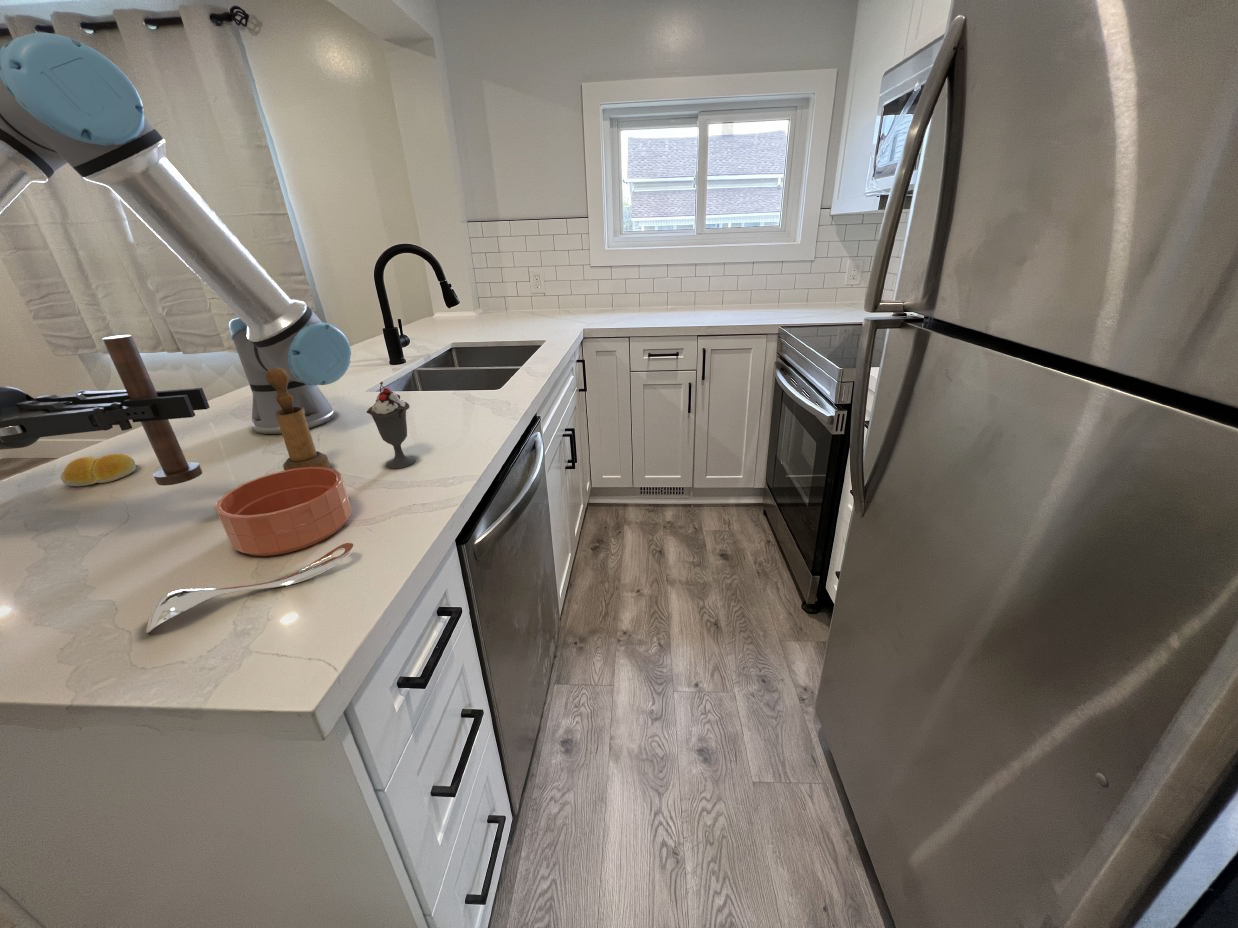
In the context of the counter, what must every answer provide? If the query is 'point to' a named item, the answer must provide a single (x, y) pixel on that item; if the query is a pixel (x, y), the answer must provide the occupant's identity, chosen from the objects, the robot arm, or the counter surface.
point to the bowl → (284, 510)
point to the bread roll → (97, 469)
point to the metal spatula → (235, 588)
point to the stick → (156, 431)
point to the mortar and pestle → (294, 426)
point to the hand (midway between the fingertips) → (196, 402)
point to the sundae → (392, 424)
